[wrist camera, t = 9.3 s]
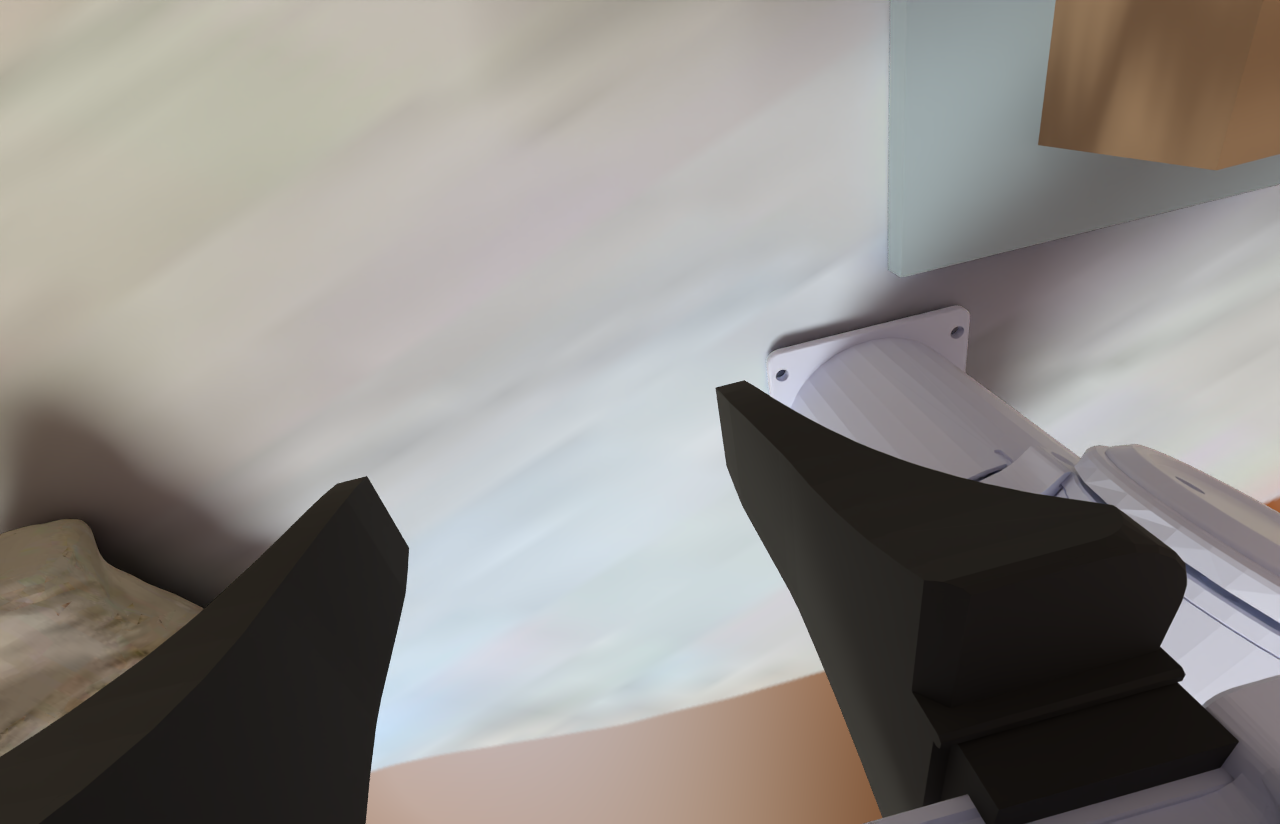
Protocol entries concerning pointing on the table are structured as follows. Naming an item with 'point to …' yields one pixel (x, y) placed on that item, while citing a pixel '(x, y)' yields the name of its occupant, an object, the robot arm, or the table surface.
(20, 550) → the ceramic sculpture
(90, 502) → the table surface
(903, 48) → the board
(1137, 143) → the walnut block
